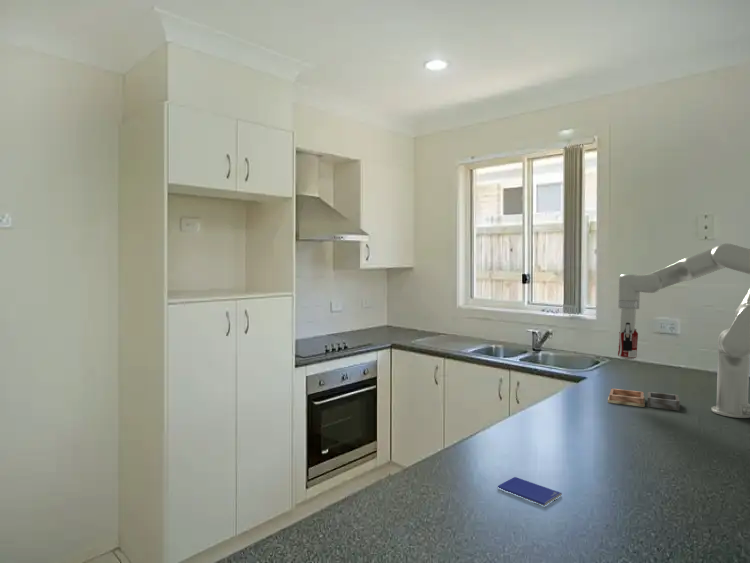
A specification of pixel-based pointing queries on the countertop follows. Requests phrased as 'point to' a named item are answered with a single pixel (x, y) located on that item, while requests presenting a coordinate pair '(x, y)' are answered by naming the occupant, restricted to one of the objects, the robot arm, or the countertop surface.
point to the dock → (638, 400)
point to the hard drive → (530, 491)
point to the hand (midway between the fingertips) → (627, 348)
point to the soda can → (632, 353)
